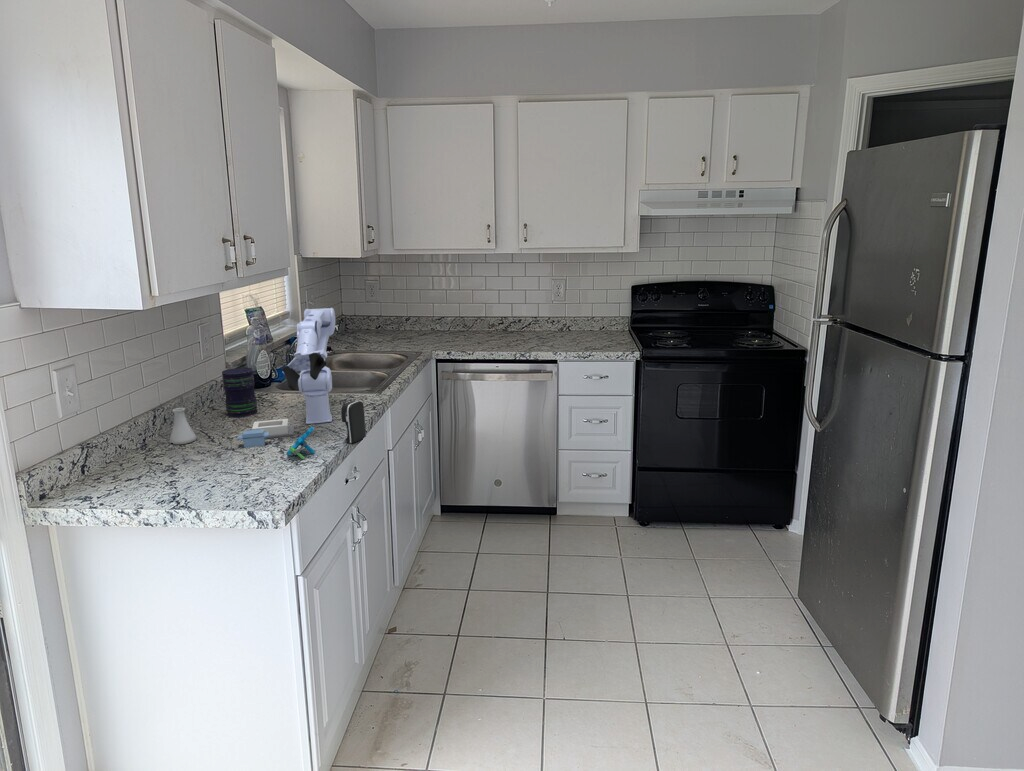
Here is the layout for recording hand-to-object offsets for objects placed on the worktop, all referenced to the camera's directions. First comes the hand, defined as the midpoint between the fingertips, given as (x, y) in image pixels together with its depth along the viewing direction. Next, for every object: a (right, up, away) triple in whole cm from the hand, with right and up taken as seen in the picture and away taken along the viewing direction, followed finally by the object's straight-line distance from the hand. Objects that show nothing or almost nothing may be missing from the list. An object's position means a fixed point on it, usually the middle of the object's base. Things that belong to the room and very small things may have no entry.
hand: (302, 382), depth 200 cm
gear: (+2, -20, -8) cm, 22 cm away
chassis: (-13, -15, +12) cm, 24 cm away
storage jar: (-31, -11, +36) cm, 49 cm away
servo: (-14, -18, +2) cm, 23 cm away
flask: (-37, -18, +7) cm, 42 cm away
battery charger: (+14, -17, +3) cm, 22 cm away
